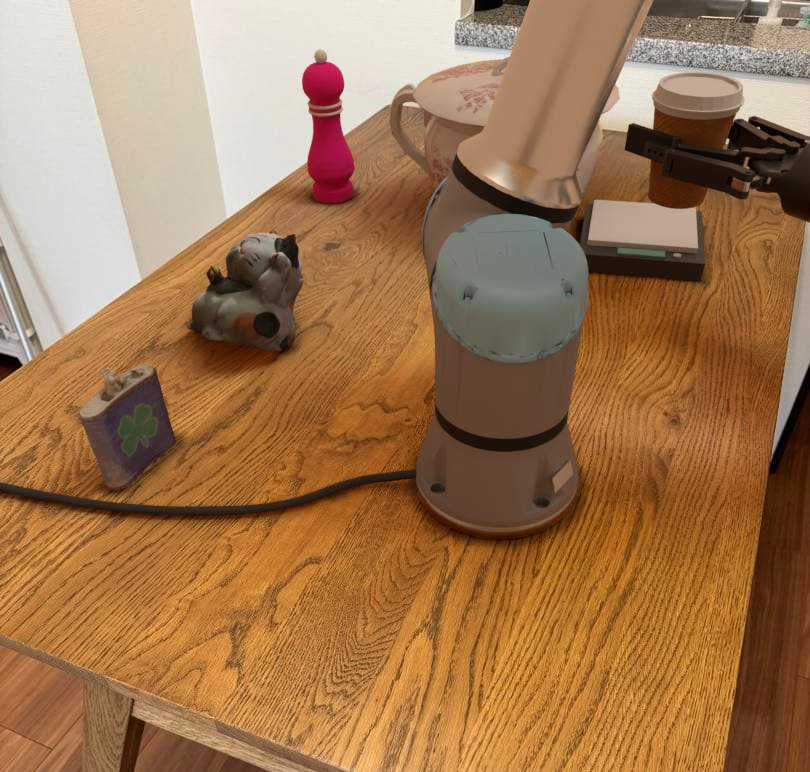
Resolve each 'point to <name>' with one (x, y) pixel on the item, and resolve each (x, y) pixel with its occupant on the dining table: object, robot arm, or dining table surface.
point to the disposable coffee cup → (691, 126)
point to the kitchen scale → (643, 240)
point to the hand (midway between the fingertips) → (654, 127)
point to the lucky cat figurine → (252, 294)
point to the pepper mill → (327, 132)
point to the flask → (127, 425)
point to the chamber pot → (466, 116)
